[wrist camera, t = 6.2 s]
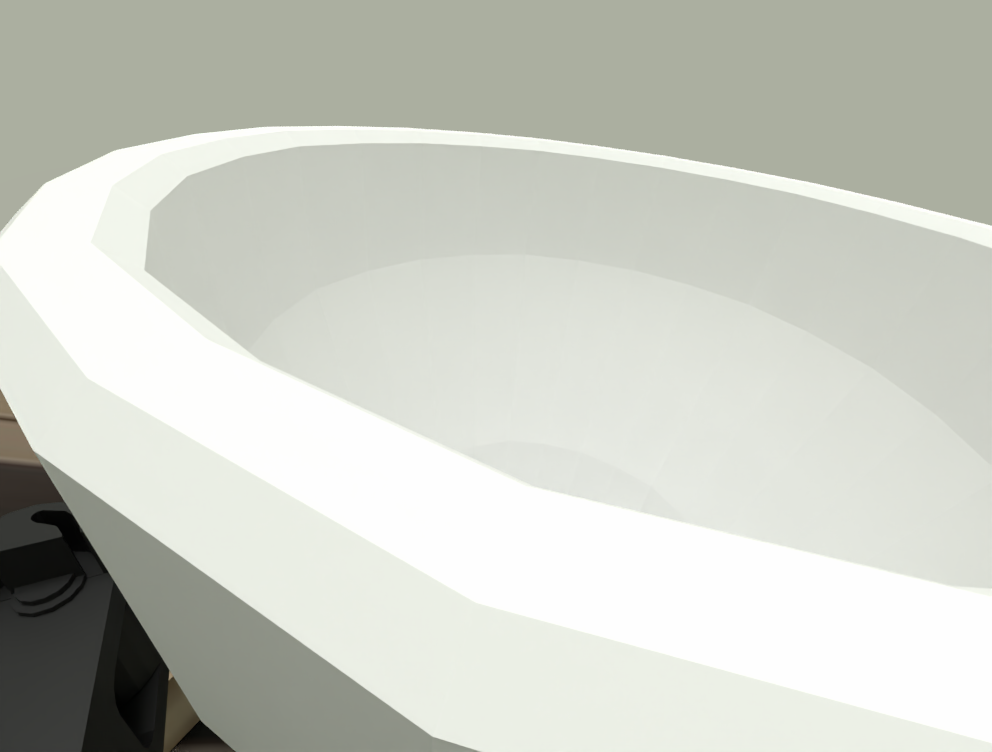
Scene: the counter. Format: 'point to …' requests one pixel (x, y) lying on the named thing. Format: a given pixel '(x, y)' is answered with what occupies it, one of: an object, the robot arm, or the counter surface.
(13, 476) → the counter surface
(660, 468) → the cup
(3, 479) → the counter surface
